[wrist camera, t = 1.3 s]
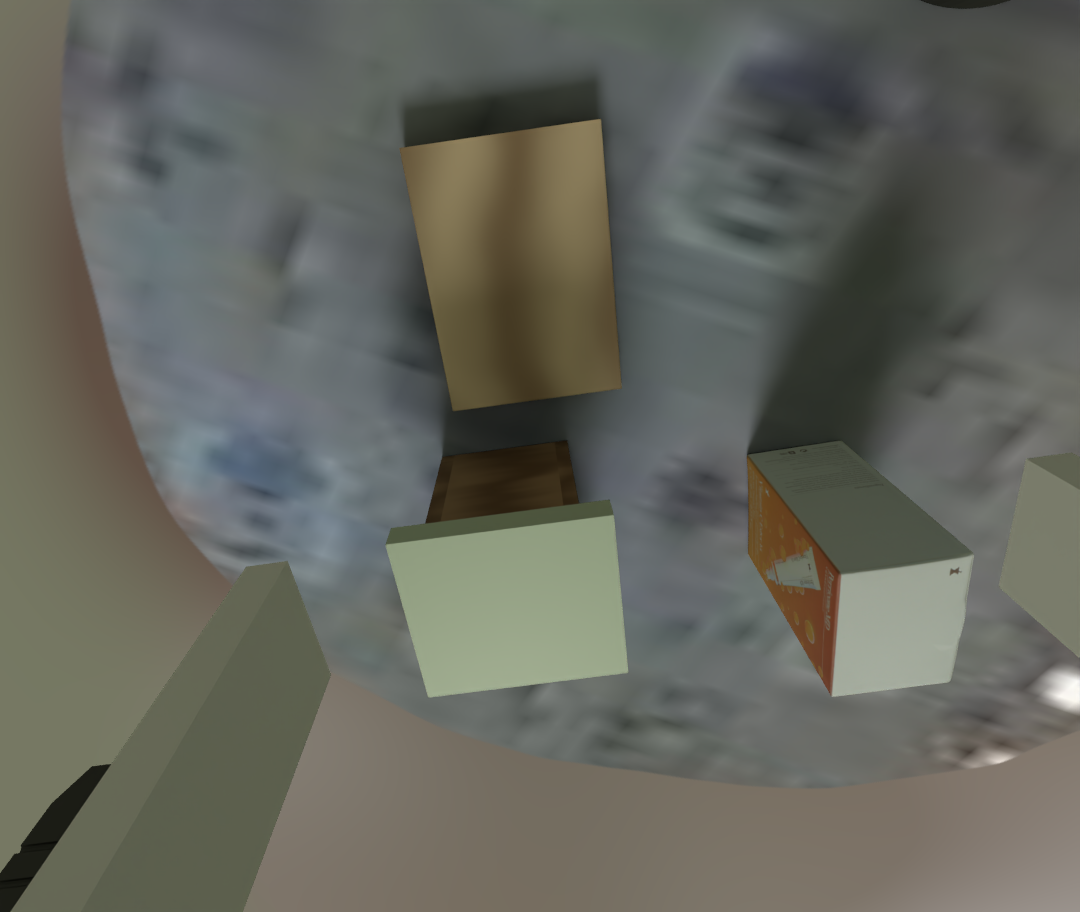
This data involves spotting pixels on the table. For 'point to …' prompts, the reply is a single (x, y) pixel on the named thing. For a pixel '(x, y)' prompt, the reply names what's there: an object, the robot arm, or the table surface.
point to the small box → (856, 569)
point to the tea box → (503, 482)
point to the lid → (512, 597)
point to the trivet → (518, 262)
